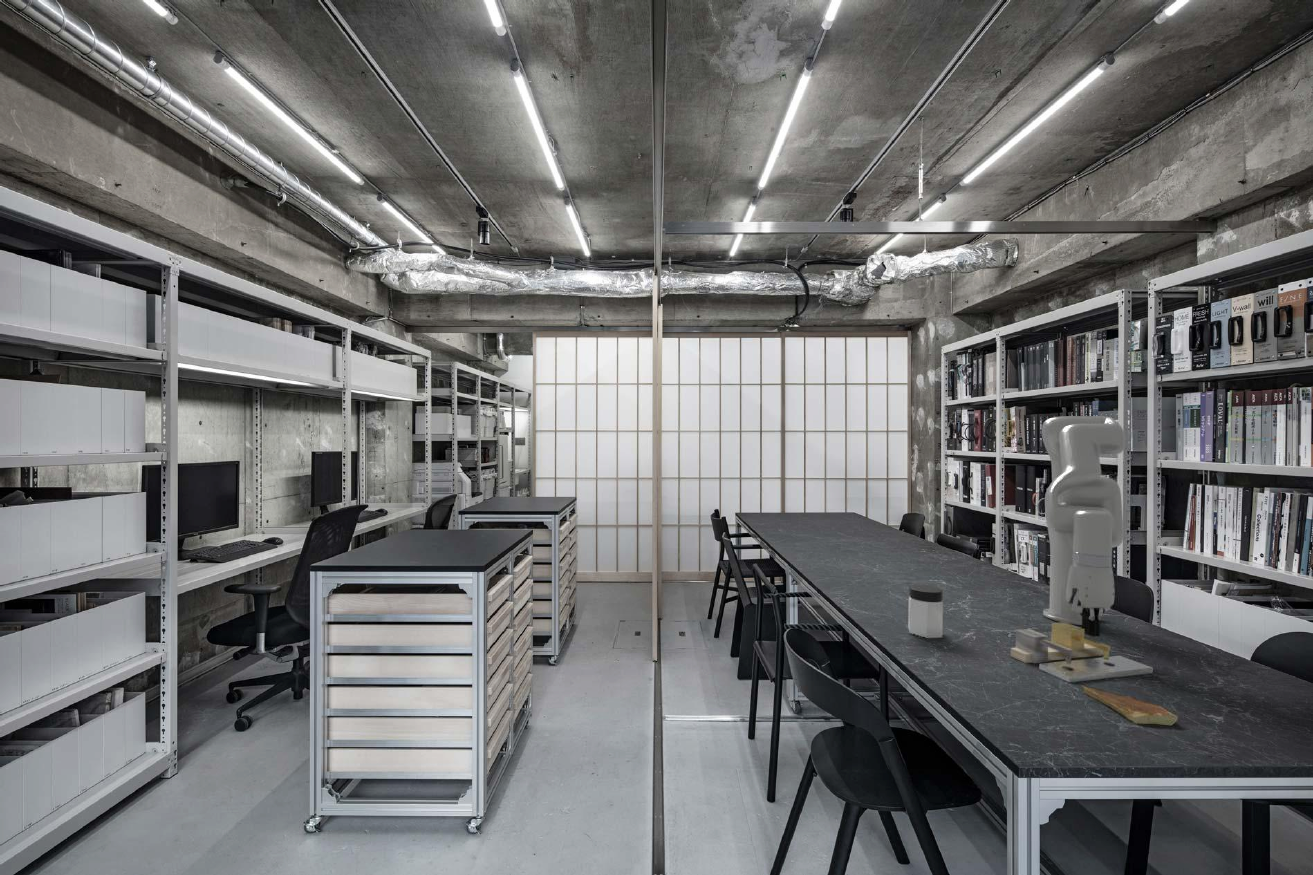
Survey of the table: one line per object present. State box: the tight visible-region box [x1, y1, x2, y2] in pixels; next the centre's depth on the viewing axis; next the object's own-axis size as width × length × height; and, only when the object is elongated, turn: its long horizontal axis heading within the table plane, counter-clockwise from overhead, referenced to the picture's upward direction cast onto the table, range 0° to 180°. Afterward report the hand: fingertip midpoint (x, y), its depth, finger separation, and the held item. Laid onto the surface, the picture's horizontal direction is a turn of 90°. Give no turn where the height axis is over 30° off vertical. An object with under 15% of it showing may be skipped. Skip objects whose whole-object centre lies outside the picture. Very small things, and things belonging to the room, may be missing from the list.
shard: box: [1082, 684, 1178, 726], centre depth 107 cm, size 13×9×2 cm
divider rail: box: [1010, 628, 1103, 664], centre depth 130 cm, size 24×12×6 cm, turn 104°
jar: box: [907, 584, 944, 639], centre depth 148 cm, size 9×8×12 cm
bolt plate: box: [1038, 655, 1154, 683], centre depth 125 cm, size 24×7×1 cm, turn 104°
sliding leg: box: [1050, 622, 1111, 660], centre depth 131 cm, size 4×12×5 cm, turn 14°
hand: (1090, 634), depth 136 cm, fingers closed
